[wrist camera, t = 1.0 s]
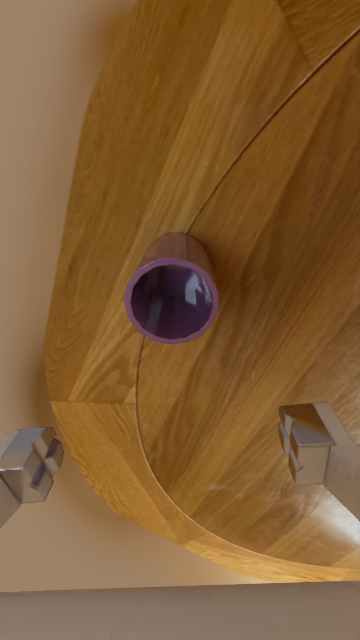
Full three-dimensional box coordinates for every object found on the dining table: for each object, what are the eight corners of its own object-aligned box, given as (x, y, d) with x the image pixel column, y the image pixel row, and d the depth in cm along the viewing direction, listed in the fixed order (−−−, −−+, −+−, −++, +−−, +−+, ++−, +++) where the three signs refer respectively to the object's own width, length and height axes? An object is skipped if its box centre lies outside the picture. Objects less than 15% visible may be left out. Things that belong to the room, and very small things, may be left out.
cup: (136, 238, 26) (114, 265, 18) (205, 227, 25) (214, 251, 17) (150, 300, 29) (136, 348, 21) (211, 292, 28) (222, 338, 20)
